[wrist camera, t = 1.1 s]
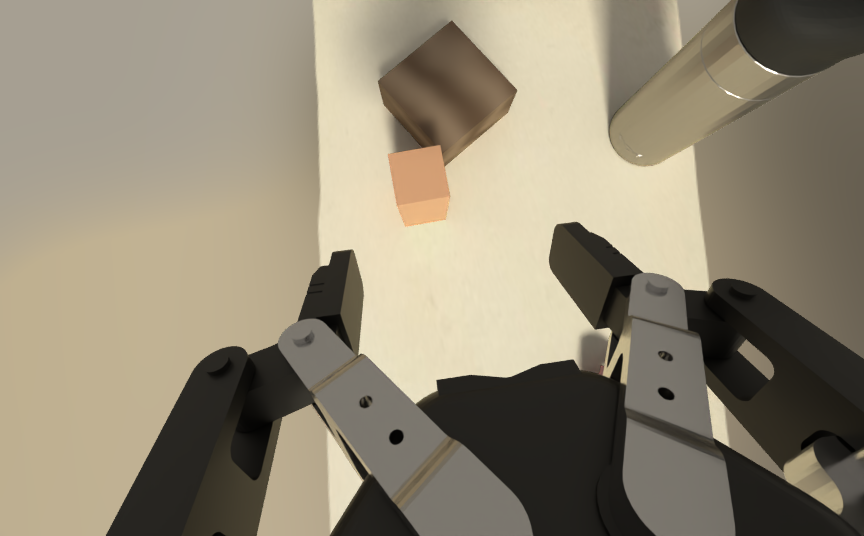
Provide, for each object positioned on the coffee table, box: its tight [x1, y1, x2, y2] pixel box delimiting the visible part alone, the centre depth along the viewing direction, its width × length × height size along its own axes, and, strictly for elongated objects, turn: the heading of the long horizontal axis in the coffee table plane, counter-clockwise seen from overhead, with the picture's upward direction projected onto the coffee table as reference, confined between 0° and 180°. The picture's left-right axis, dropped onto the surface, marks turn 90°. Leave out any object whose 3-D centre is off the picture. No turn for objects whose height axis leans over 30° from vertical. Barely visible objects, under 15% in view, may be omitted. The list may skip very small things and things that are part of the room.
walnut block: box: [378, 21, 517, 167], centre depth 40 cm, size 12×12×5 cm
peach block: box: [388, 145, 450, 227], centre depth 36 cm, size 5×5×10 cm
